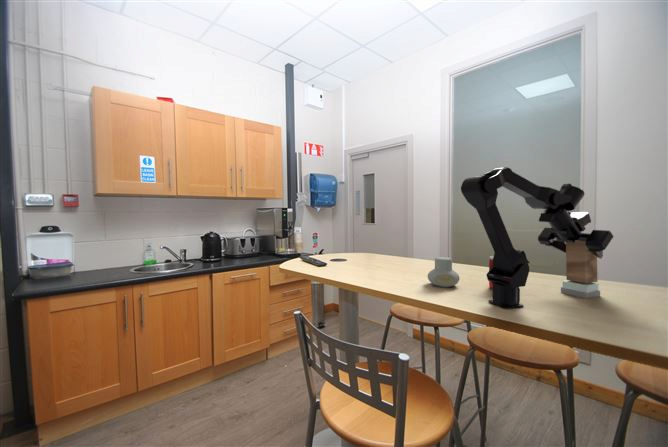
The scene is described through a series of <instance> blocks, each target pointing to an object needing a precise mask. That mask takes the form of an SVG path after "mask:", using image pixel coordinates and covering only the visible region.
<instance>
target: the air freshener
mask: <svg viewBox="0 0 668 447" xmlns="http://www.w3.org/2000/svg"><path fill="white" fill-rule="evenodd" d="M427 279H428V281H429V282H430V283H431V284H432V285H434V286H437V287H440V288H451V287H455V285H457V284H458V283H459V282H460V275H459V273H457V271H455V270H454V269H453V259H452V257H446V256H437V257H435V258H434V268H433V269H431V270H430V271H429V272H428V274H427Z"/></svg>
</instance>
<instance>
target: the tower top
mask: <svg viewBox="0 0 668 447" xmlns="http://www.w3.org/2000/svg"><path fill="white" fill-rule="evenodd" d="M599 285H600V284H599V283H598V282H591V283H584V282H577V281H570V280H567V279H566V280H562V287H563V288H566V289H571V290H576V291H580V292H585V293H589V292H593V291H597V290H599Z"/></svg>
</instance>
